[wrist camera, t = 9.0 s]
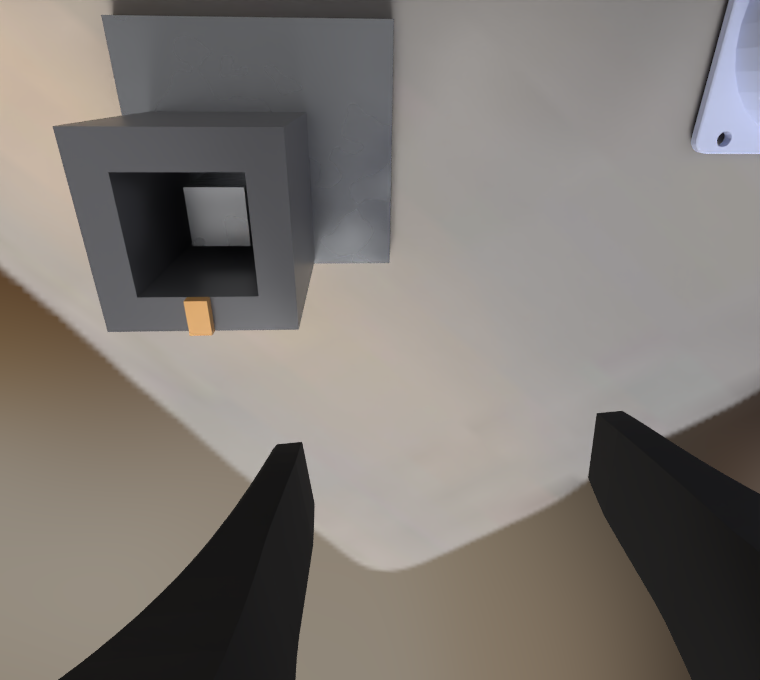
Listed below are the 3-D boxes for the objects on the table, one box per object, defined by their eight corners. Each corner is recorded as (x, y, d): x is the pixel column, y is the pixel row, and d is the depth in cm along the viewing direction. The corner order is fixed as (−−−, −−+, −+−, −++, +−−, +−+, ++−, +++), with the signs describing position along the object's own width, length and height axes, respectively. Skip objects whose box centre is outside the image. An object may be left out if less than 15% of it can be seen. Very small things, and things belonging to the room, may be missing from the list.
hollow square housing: (306, 112, 17) (281, 128, 11) (314, 260, 19) (297, 334, 14) (149, 111, 17) (45, 127, 11) (176, 261, 19) (102, 337, 14)
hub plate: (392, 21, 17) (393, 19, 16) (388, 256, 20) (389, 263, 20) (112, 17, 16) (101, 14, 15) (160, 257, 20) (152, 264, 19)
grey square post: (264, 167, 18) (244, 187, 15) (269, 217, 19) (250, 246, 16) (214, 167, 18) (183, 187, 15) (221, 217, 19) (192, 246, 16)
